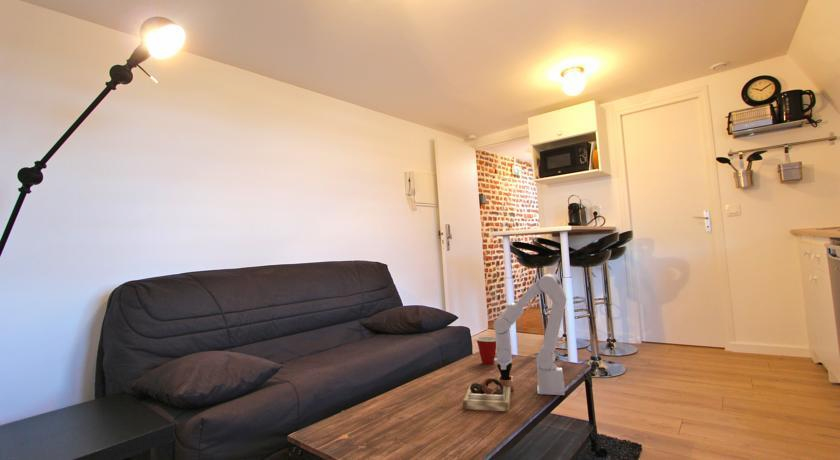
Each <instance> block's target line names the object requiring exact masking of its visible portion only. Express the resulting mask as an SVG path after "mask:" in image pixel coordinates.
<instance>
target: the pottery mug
mask: <svg viewBox="0 0 840 460" xmlns="http://www.w3.org/2000/svg"><path fill="white" fill-rule="evenodd" d="M491 383H494V384H495V385H496V386H497V385H499V386H500V388H501V389H500V390H498V391H493V389H492V388H489V387H488V386H489V385H490V384H491ZM470 385H471V386H470ZM470 385H469V386H470V390H471V392H472V393H473V394H492V395H503V386H502V384H501V383H500V382H499V381H498V380H497V379H496V378H492V377H489V378H488V377H487V378H484V380H483V381H482V382H481V383H477V382H473V383H472V384H470ZM492 392H493V393H492Z"/></svg>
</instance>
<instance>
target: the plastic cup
mask: <svg viewBox="0 0 840 460" xmlns="http://www.w3.org/2000/svg"><path fill="white" fill-rule="evenodd" d="M475 340H476V342H477V347H478V351H479V356H480V360H481V362H482V363H481V364H483V365H487V366H488V365H494V364H495V362H496V361H494V358H496V354H497V350H496V337H494V336H477V337H475Z"/></svg>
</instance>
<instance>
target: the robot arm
mask: <svg viewBox="0 0 840 460" xmlns="http://www.w3.org/2000/svg"><path fill="white" fill-rule="evenodd" d="M543 293H544V294H545V295H547V296H548V298H549V299H550V300H551V302H552V303H551V307H550V311H549V316H548V321H547V325H546V329H545V334H544V337H543V341H542V344H541V346H540V347H541V348H540V350H539V352H538V353H537V355H536V356H535V362H536V371H537V372H536V373H537V386H536V387H537V389H536V390H537V394H538V395H548V396H549V395H553V396H565V395H566V394H565V389H566V387H565V381H564V372H563V368H562V367H559V366H557V365H556V363H555V360H556V359H557V354H556V347H557V340H558V338H559V332H560V329H561V324H562V320H563V317H564V312H565V307H566V304H567V296H566V293H565V291H564V288H563V285H562V282H561V280H560V279H559V278H558V276H556V275H555V274H553V273H547V274H545V275H543V276H541V277H540V278H539V279H538V280H536V282H534V283H533V284H532V285H530V287H529V288H528V289H527V291H526V292H525V293H524V294H523V295H522V296H521V297H520V298H519V300H518V301H517V302H511V303H510V304H507V305H506V309H505V310H504V311H503V312H502V313H500V314H499V315H498V316H499V317H498V318H496V319H495V320H494V322H493V330H494V331H495V338H496V357H495V358H494V361H495V362H497V365H496V366H497V369H498V372H499V373H500V376H501V377H502V380H509V376H511V375H510V373H511V370H512V369H513V367H512V366H513V363H512V362H513V358H512V345H511V336H510V333H511V332H510V329H511V327H512V326H513V325H514V324H515V322H517V320H518V319H519V318H520V317H521V316H522V315H523V314H524V308H525V307H526V305H528V304H529V302H530V301H531V300H533V298H535V296H537V295H541V294H543Z"/></svg>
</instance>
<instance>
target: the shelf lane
mask: <svg viewBox="0 0 840 460" xmlns="http://www.w3.org/2000/svg"><path fill="white" fill-rule="evenodd" d="M471 385H472V384H470V385H469V387H468V389H467V391H466V394H465V397H464V398H463V400H462V401H463V403H462V405H463V409H464V410H476V411H478V410H479V411H480V410H481V411H498V412H510V411H509V410H510V404H511V403H510V402H511V396H512V395H511V394H512V393H511V391H512V390H511V388H510V387H507V391H506V398H505V401H500V400H480V399H468V394H469V393H470V394H473V393H472V392H471V390H470V386H471Z"/></svg>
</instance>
